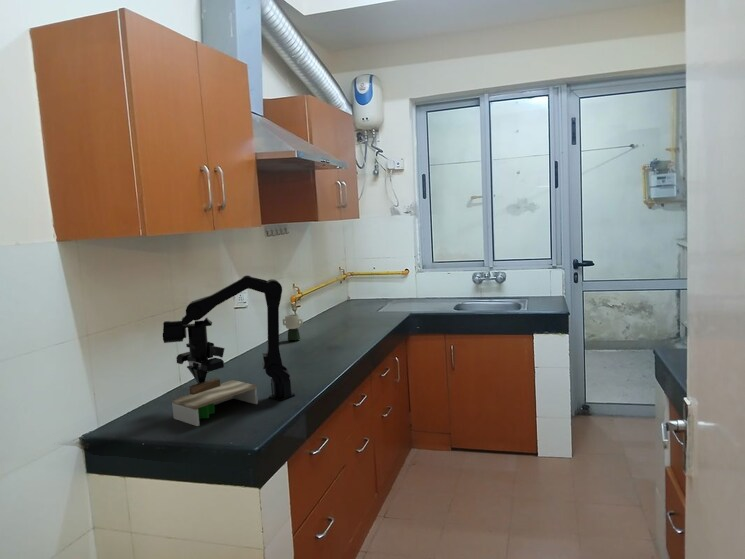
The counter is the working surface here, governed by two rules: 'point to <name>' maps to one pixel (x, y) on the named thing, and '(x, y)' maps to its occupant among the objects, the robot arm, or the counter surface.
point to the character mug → (293, 326)
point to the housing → (192, 414)
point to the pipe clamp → (206, 411)
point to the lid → (212, 392)
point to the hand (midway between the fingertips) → (201, 386)
